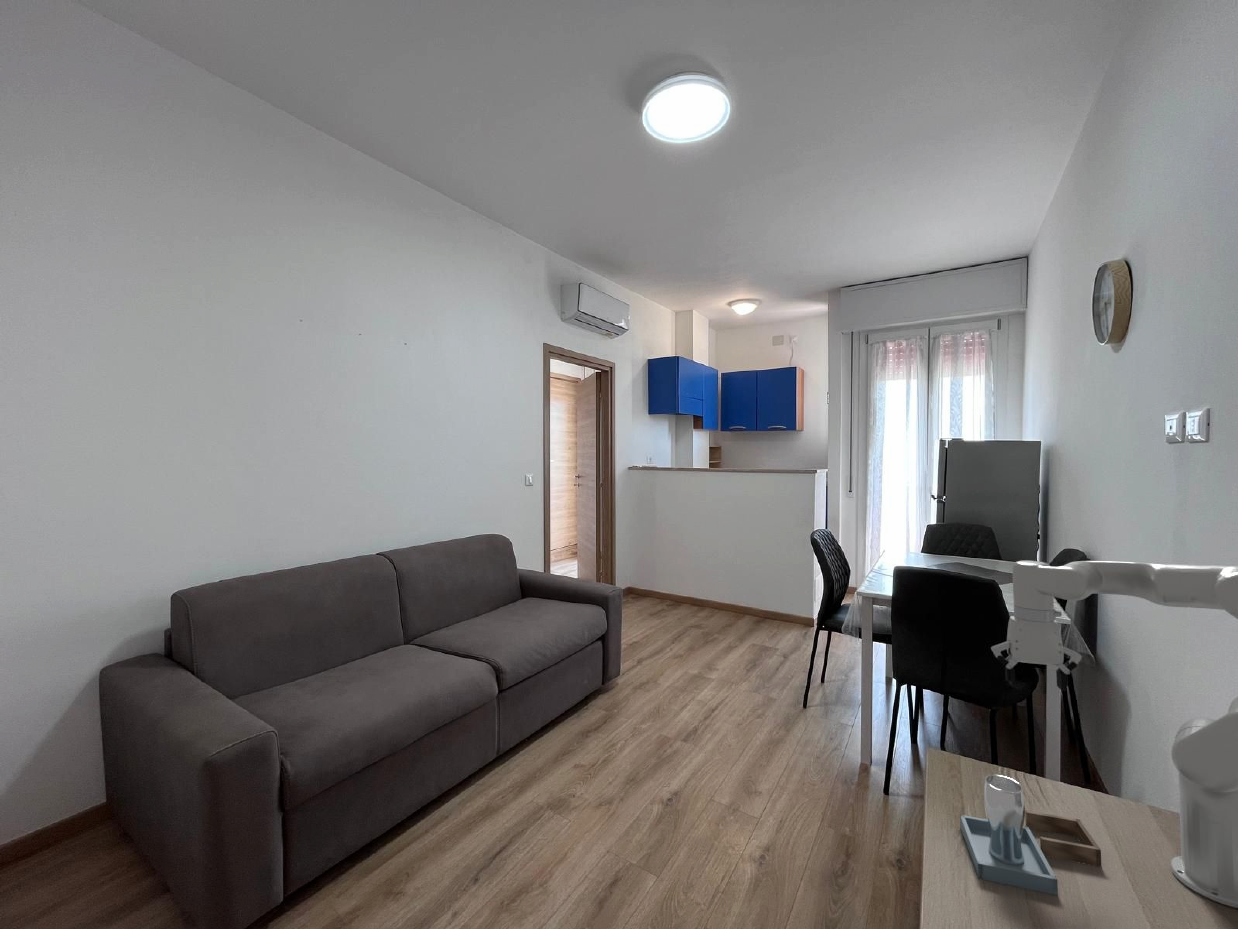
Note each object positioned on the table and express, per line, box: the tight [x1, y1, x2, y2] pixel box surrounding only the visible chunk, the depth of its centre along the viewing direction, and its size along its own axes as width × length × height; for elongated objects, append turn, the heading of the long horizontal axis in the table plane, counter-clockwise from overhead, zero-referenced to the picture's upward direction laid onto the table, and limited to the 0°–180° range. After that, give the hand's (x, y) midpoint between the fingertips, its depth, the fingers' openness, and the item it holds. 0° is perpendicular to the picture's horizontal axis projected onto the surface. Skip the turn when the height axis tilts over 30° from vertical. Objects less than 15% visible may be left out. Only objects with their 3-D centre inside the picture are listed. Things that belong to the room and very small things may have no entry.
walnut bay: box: [1024, 809, 1102, 867], centre depth 116 cm, size 10×10×4 cm
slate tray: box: [959, 814, 1059, 896], centre depth 113 cm, size 13×16×3 cm
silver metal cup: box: [983, 774, 1026, 865], centre depth 113 cm, size 7×7×15 cm
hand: (1036, 686), depth 126 cm, fingers open, 9 cm apart
